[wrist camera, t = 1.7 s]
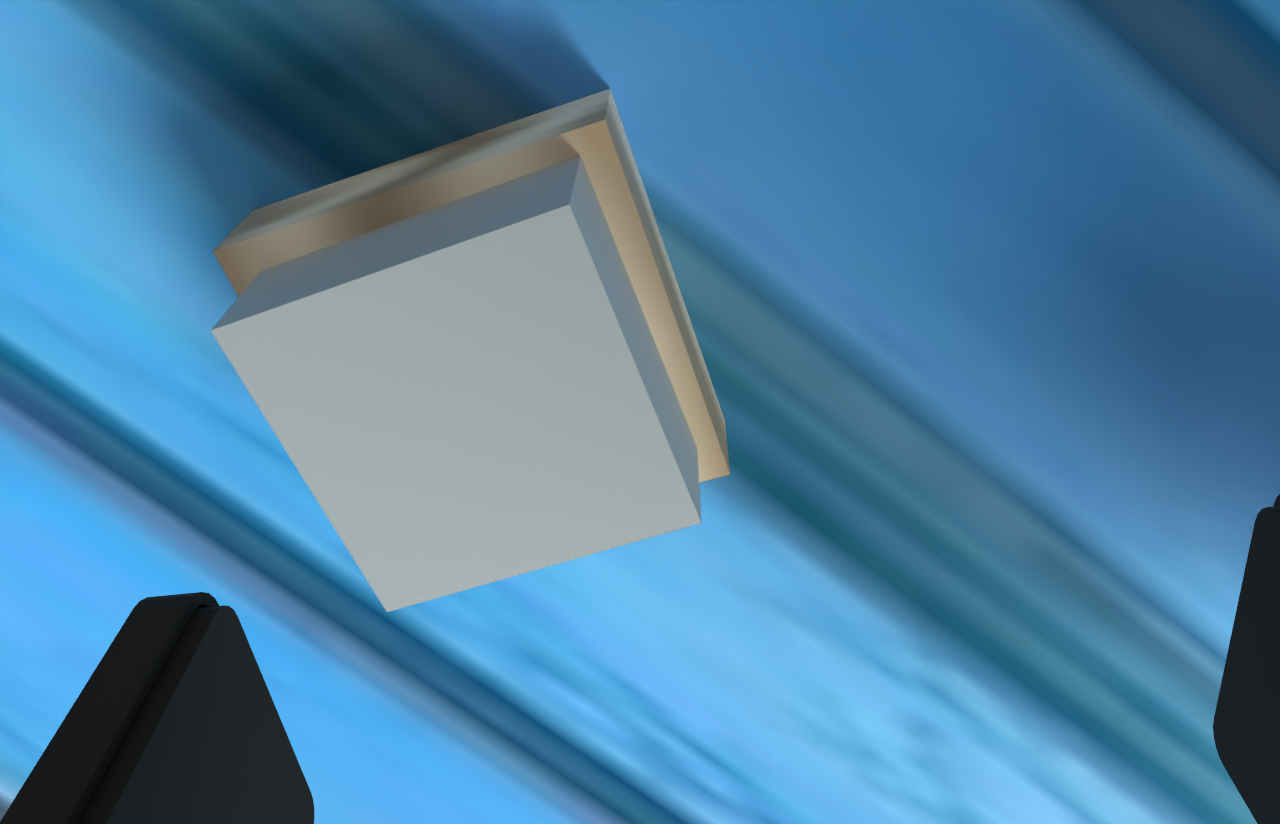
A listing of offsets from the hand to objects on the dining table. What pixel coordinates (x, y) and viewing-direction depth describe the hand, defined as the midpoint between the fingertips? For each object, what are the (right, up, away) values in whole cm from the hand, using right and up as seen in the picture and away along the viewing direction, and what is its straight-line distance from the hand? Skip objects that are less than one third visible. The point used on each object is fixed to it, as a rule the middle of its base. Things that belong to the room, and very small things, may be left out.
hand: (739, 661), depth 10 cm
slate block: (-6, +4, +22) cm, 23 cm away
